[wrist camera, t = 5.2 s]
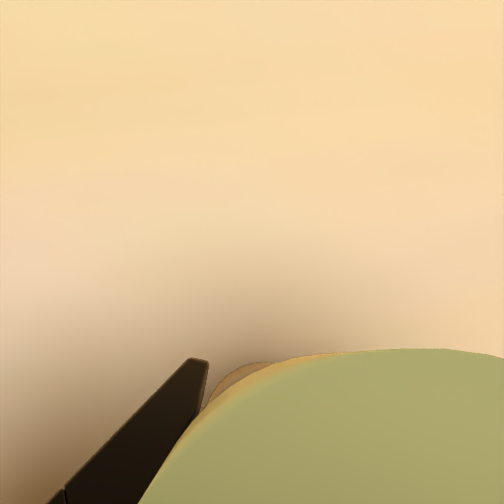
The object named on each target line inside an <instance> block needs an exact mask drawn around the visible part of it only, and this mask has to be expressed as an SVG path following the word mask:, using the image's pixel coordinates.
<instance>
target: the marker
mask: <svg viewBox="0 0 504 504" xmlns="http://www.w3.org/2000/svg"><path fill="white" fill-rule="evenodd" d="M138 504H504V359H502V358H498V357H495V356H491V355H487V354H479V353H472V352H464V351H457V350H449V349H391V350H376V351H360V352H345V353H330V354H318V355H310V356H303V357H297V358H293V359H289V360H286V361H282V362H279V363H267V362H265V363H253V364H249V365H245V366H243V367H241V368H238V369H236V370H235V371H233V372H231V373H230V374H229V375H228V376H226V377H225V378H224V379H223V380H222V381H221V382H220V383H219V385H218V386H217V387H216V389H215V390H214V392H213V394H212V396H211V397H210V400H209V402H208V404H207V406H206V408H205V409H204V410H203V411H202V412H201V413H200V414H199V415H198V416H197V417H196V418H195V419H194V420H193V421H192V422H191V424H190V425H189V426H188V428H187V429H186V430H185V432H184V433H183V434H182V436H181V437H180V438H179V440H178V441H177V442H176V444H175V446H174V447H173V449H172V450H171V452H170V453H169V455H168V457H167V458H166V460H165V461H164V463H163V465H162V466H161V468H160V469H159V471H158V473H157V474H156V476H155V477H154V479H153V481H152V482H151V484H150V485H149V487H148V489H147V490H146V492H145V493H144V495H143V496H142V498H141V500H140V501H139V503H138Z"/></svg>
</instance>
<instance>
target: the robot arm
mask: <svg viewBox="0 0 504 504" xmlns="http://www.w3.org/2000/svg"><path fill="white" fill-rule="evenodd" d="M208 369H209V363H208V361H205V360H201V359H196V358H189V359H187V360H186V361H185V362H184V363H183V364H182V365H181V366H180V367H179V368H178V369H177V370H176V371H175V372H174V373H173V374H172V375H171V376H170V377H169V378H168V380H167V381H166V382H165V383H164V384H163V385H162V386H161V387H160V388H159V389H158V390H157V391H156V392H155V393H154V394H153V395H152V396H151V397H150V398H149V399H148V400H147V401H146V402H145V403H144V404H143V405H142V406H141V407H140V408H139V409H138V410H137V411H136V412H135V413H134V414H133V415H132V416H131V417H130V418H129V419H128V420H127V421H126V422H125V423H124V424H123V425H122V426H121V428H120V429H119V430H118V431H117V432H116V433H115V434H114V435H113V436H112V437H111V438H110V439H109V440H108V441H107V442H106V443H105V444H104V445H103V446H102V447H101V448H100V449H99V450H98V451H97V452H96V453H95V454H94V455H93V456H92V457H91V458H90V459H89V460H88V461H87V462H86V463H85V464H84V465H83V466H82V467H81V468H80V469H79V470H78V471H77V472H76V473H75V474H74V476H73V477H72V478H71V479H70V480H69V481H68V482H67V483H66V484H65V485H64V489H60V490H59V491H58V492H57V493H56V494H55V495H54V496H53V497H52V498H51V499H50V500H49V501H48V502H47V503H46V504H138V503H139V501H140V500H141V498H142V496H143V495H144V493H145V492H146V490H147V489H148V487H149V485H150V484H151V482H152V481H153V479H154V477H155V476H156V474H157V473H158V471H159V469H160V468H161V466H162V465H163V463H164V461H165V460H166V458H167V457H168V455H169V453H170V452H171V450H172V449H173V447H174V446H175V444H176V442H177V441H178V440H179V438H180V437H181V436H182V434H183V433H184V432H185V430H186V429H187V428H188V426H189V425H190V424H191V422H192V421H193V420H194V419H195V418H196V417H197V416H198V415H199V411H200V407H201V403H202V399H203V395H204V390H205V385H206V379H207V374H208Z"/></svg>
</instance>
